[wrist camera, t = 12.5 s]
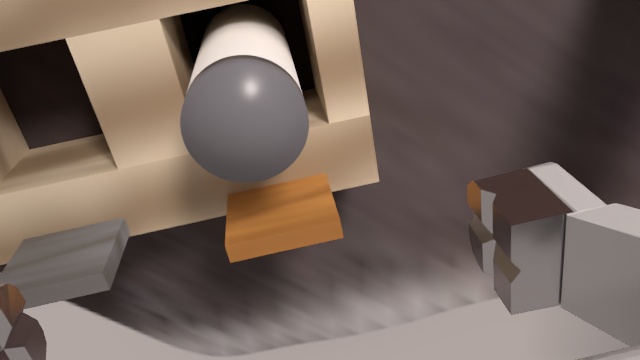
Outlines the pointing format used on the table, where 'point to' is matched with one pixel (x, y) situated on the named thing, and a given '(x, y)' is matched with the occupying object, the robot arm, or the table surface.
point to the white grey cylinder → (244, 98)
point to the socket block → (164, 147)
